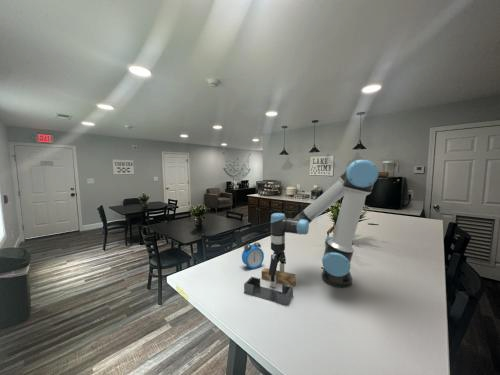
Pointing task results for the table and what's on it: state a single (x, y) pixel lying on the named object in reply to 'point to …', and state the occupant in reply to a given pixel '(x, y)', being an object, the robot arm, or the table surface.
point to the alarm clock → (252, 255)
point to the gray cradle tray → (268, 292)
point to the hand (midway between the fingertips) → (277, 280)
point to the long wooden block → (280, 277)
